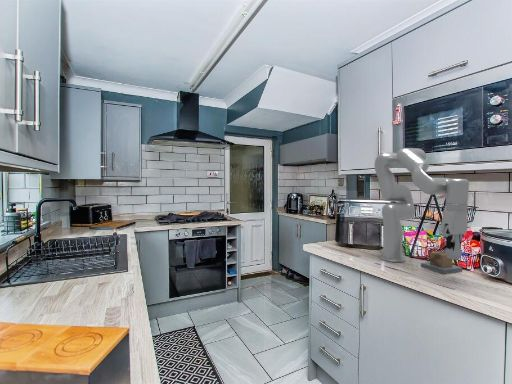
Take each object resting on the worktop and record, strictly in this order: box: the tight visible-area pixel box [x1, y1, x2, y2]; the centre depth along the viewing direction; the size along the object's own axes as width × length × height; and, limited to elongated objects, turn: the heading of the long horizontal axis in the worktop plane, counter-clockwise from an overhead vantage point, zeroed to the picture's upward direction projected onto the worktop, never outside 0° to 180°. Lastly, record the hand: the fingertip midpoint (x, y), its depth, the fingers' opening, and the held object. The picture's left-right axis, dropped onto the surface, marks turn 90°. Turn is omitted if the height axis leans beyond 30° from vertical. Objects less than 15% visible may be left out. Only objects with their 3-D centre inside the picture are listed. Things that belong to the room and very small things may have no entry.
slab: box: [420, 261, 463, 275], centre depth 132 cm, size 12×12×2 cm
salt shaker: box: [444, 232, 462, 261], centre depth 114 cm, size 6×6×13 cm
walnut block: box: [429, 251, 453, 268], centre depth 132 cm, size 6×6×6 cm
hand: (453, 249), depth 115 cm, fingers closed on salt shaker, 3 cm apart
